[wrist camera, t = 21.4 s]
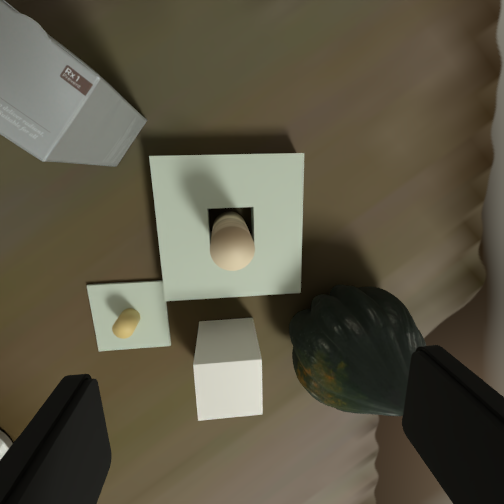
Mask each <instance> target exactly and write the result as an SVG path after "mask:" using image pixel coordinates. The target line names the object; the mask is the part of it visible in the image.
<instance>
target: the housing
mask: <svg viewBox="0 0 504 504" xmlns="http://www.w3.org/2000/svg"><path fill="white" fill-rule="evenodd" d="M193 367H194V378H195V390H196V401H197V413H198V421H200V420H210V419H220V418H230V417H241V416H251V415H261V414H263V412H262V358H261V354H260V349H259V344H258V340H257V335H256V330H255V326H254V321H253V318H241V319H227V320H212V321H199V327H198V335H197V342H196V349H195V356H194V364H193Z"/></svg>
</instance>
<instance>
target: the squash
mask: <svg viewBox="0 0 504 504" xmlns="http://www.w3.org/2000/svg"><path fill="white" fill-rule="evenodd" d="M289 333H290V338H291V342H292V344H293V352H292V357H293V365H294V369H295V372H296V375H297V378H298V380H299V381H300V383H301V384H302V386H303V387H304V388H305V389H306V390H307V391H308V392H309V393H310V394H311V395H312V396H313V397H314V398H315V399H316V400H318V401H319V402H321V403H323V404H325V405H327V406H331V407H334V408H336V409H338V410H341V411H344V412H351V413H360V414H378V415H388V416H403V411H404V404H405V397H406V390H407V383H408V376H409V369H410V362H411V356H412V353H413V352H415V351H416V349H417V348H418V347H420V346H426V343H425V341H424V339H423V336H422V335H421V333H420V331H419V330H418V328H417V327H416V325H415V322H414V320H413V318H412V316H411V315H410V313H409V311H408V309H407V308H406V307H405V305H404V304H403V303H402V302H401V301H400V300H399V299H398V298H396V297H395V296H394V295H392V294H391V293H389V292H387V291H385V290H383V289H380V288H376V287H360V288H356V287H354V286H345V285H336V286H335V287H333V288H332V290H331V291H330V294H329V295H318V296H316V297H315V298H314V299H313V301H312V305H311V309H307V310H303V311H300V312H298V313H297V314H296V315H295V316H294V317H293V318H292V320H291V322H290V325H289Z"/></svg>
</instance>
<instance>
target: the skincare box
mask: <svg viewBox="0 0 504 504" xmlns="http://www.w3.org/2000/svg"><path fill="white" fill-rule="evenodd" d="M146 121H147V119H146V118H144V117H143V116H142V115H141V114H140V113H139V112H138V111H137V110H136V109H135V108H134V107H133V106H131V105H130V104H129V103H128V102H127V101H126V100H125V99H124V98H123V97H122V96H121V95H120V94H119V93H118V92H117V91H116V90H115V89H114V88H113V87H112V86H111V85H110V84H109V83H108V82H107V81H105V80H104V79H103V78H102V77H101V76H100V75H99V74H98V73H96V72H95V71H94V70H93V69H92V68H91V67H89V66H88V65H87V64H86V63H85V62H83V61H82V60H81V59H79V58H78V57H77V56H76V55H74V54H73V53H72V52H70V51H69V50H68V49H67V48H65V47H64V46H63V45H61V44H60V43H59V42H58V41H56V40H55V39H54V38H52V37H51V36H50V35H48V34H47V33H46V32H45V31H44V30H43V28H42V27H41V26H40V25H39V24H38V23H37V22H36V21H34V20H33V19H32V18H30V17H28V16H26V15H24V14H21V13H20V12H19V11H17V10H16V9H15V8H13V7H12V6H11V5H10V4H8V3H7V2H6V1H5V0H0V134H1V135H3V136H4V137H6V138H7V139H9V140H10V141H12V142H13V143H15V144H16V145H18V146H19V147H21V148H22V149H24V150H25V151H27V152H28V153H30V154H32V155H33V156H35V157H36V158H38V159H39V160H41V161H51V162H66V163H77V164H89V165H102V166H115V167H116V166H117V165H118V163H119V162H120V161H121V159H122V158H123V156H124V154H125V153H126V151H127V150H128V148H129V147H130V145H131V144H132V142H133V141H134V139H135V138H136V136H137V135H138V133H139V132H140V130H141V129H142V127H143V126H144V124H145V123H146Z"/></svg>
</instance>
